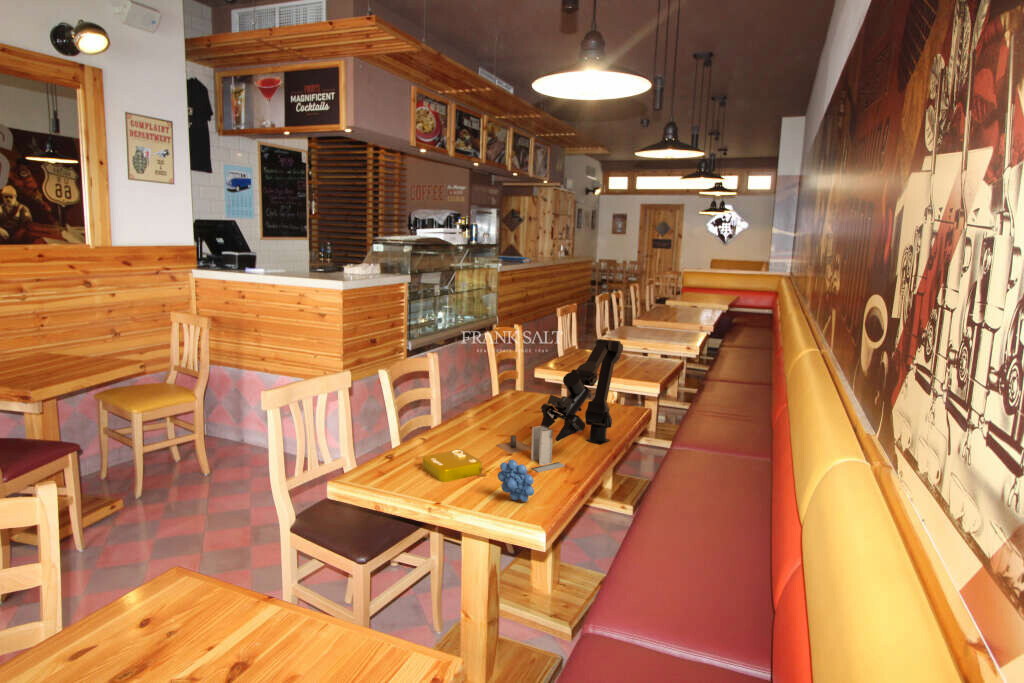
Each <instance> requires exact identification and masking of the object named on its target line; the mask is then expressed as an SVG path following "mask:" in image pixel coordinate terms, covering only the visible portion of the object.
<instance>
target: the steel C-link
mask: <svg viewBox="0 0 1024 683" xmlns="http://www.w3.org/2000/svg"><path fill="white" fill-rule="evenodd" d="M531 428H532V429H531V447H532V449H530V450H531V454H530V456H531V457H530V460H531V461H532V462H534V461H538V462H539V463H538V465H539V466H540V467H542V466H547V465H551V464H552V460H553V436H554V435H553V434H554V433H553V432H554V429H552V428H550V427H549V428H548V427H545V426H543V425H542V426H541V425H538V426H532V427H531Z"/></svg>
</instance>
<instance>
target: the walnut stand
mask: <svg viewBox="0 0 1024 683" xmlns="http://www.w3.org/2000/svg"><path fill="white" fill-rule="evenodd" d="M495 446H496V447H498V448H500V449H502V450H504V451H505V452H507V453H509V454H515V453H519V452H525V451H528V450H529V451H530V450H532V446H530V445H528V444H526V443H524V442H522V441H520V440H517V435H510V442H505V443H504V442H503V443H498V444H495Z"/></svg>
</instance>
